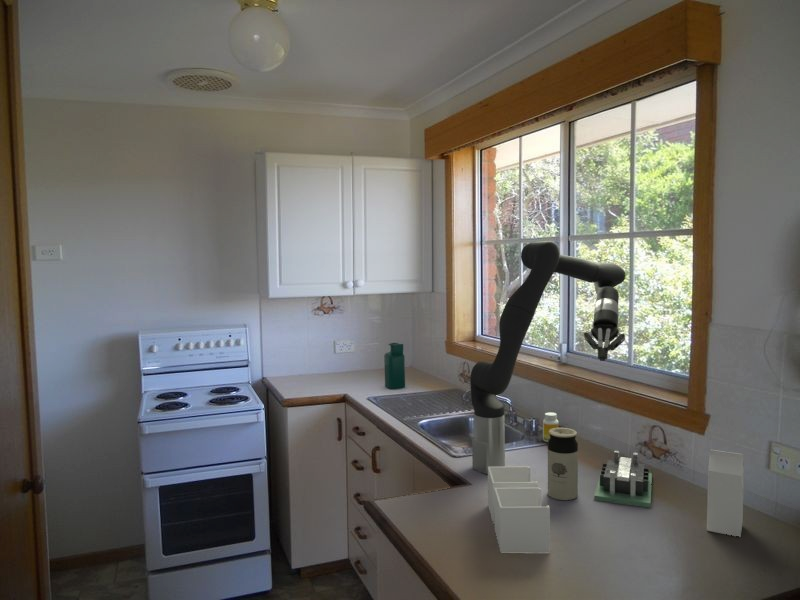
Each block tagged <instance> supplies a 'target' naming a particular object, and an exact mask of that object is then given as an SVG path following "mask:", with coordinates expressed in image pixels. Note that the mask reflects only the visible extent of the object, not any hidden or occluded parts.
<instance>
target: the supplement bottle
mask: <svg viewBox="0 0 800 600" xmlns="http://www.w3.org/2000/svg"><path fill="white" fill-rule="evenodd" d="M557 418H558V416H557V413H556V412H545V413H544V419H543V421H542V440H543V442H545V443H548V441H549V439H550V434H549V430H550V429H553V428H560V427H559V426H560V425H559V420H558V419H557Z"/></svg>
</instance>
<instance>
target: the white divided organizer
mask: <svg viewBox="0 0 800 600" xmlns="http://www.w3.org/2000/svg"><path fill="white" fill-rule="evenodd" d="M538 483H539V482H538V481H537V480H534V481H531V466H529V465H527V466H526V465H525V466H523V465H518V466H516V465H515V466H514V465H513V466H506V465H505V466H503V467H488V474H487V507H488V506H489V507H488V509H489V510H490V511H489V514H490V513H491V515H490V517H492V518H491V522H492V521H493V522H492V525H493V524H495V525H494V533H496V534H495V536H497V537H496V541H497V540H498V541H497V544H499V545H498V548H499V547H500V549H499V552H500V551H501V552H550V553H551V550H550V548H551V545H550V544H551V542H550V540H551V539H550V537H551V533H550V532H551V530H550V529H551V523H550V522H551V520H550V518H551V517H550V515H551V514H550V513H551V507H550V505H549V504H546V506H542V490H541V487H538Z"/></svg>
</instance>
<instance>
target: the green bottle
mask: <svg viewBox="0 0 800 600" xmlns="http://www.w3.org/2000/svg"><path fill="white" fill-rule="evenodd" d="M388 346H390V351H389V352H386V353H384V363H383V364H384V387H385V388H386V389H389V390H392V391H393V390H400V389H405V388H406V369H405V368H406V365H405V363H406V361H405V358H406V357H405V354H404V343H398V342H390V343H388Z"/></svg>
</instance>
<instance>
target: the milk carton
mask: <svg viewBox="0 0 800 600" xmlns="http://www.w3.org/2000/svg"><path fill="white" fill-rule="evenodd" d="M744 458H745V454H743V453H738V452H733V451H732V452H729V451H723V450H717V449H709V458H708V459H709V460H708V467H707V468H708V469H707V498H706V499H707V503H706V504H707V505H706V531H708V532H712V533H716V534H722V535H726V534H727V536H731V535H732V537H736V536H739V537H738V538H741V536H742V535H741V534H742V529H743V517H744V515H743V513H744V511H743V509H744V485H745V484H744V483H745V481H744V478H745V459H744Z"/></svg>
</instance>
